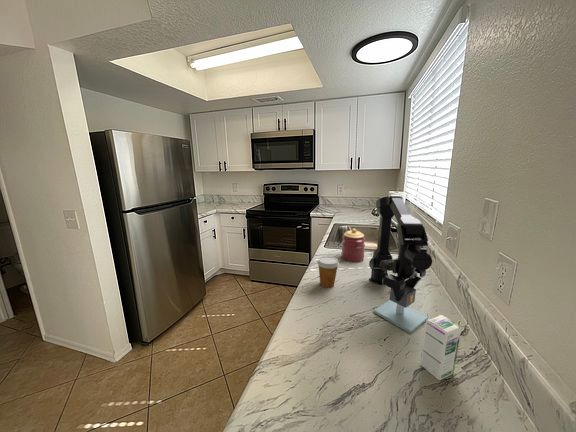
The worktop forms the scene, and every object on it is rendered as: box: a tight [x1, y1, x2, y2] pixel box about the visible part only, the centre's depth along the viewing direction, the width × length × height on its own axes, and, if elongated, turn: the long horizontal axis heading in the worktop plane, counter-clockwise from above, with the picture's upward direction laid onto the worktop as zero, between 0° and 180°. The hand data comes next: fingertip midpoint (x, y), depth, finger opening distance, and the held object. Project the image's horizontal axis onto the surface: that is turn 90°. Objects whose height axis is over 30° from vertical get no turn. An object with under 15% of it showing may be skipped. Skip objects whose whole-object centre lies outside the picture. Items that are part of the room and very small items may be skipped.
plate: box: [373, 299, 429, 334], centre depth 87 cm, size 14×12×1 cm
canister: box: [340, 228, 366, 263], centre depth 137 cm, size 13×13×18 cm
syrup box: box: [420, 314, 462, 382], centre depth 64 cm, size 6×6×14 cm
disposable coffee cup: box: [316, 255, 340, 289], centre depth 108 cm, size 10×10×12 cm
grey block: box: [389, 285, 417, 308], centre depth 85 cm, size 6×6×5 cm
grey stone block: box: [396, 304, 405, 315], centre depth 87 cm, size 2×3×4 cm
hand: (402, 297), depth 86 cm, fingers closed on grey block, 6 cm apart
